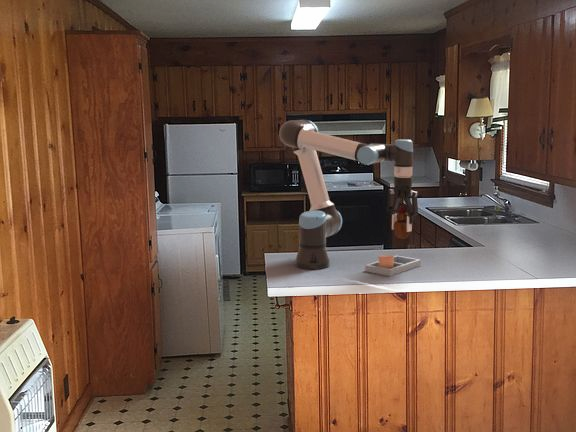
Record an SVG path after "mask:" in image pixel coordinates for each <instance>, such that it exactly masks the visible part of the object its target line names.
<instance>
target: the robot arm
mask: <svg viewBox="0 0 576 432" xmlns="http://www.w3.org/2000/svg"><path fill="white" fill-rule="evenodd" d="M278 134H279V135H278V136H279V139H280V142H282V143H283V145H285V146H286V147H290V148H292V152H293V154H295V155H296V156H297V158H298V161H299V165H300V169H301V171H302V172H301V173H302V176H303V180H304V184H305V187H306V190H307V195H308V198H309V202H310V205H311V207H310V209H309V211H308V210H307V211H305V212H302V213H301V214H300V215H299V218H298V219H299V221H298V227H299V228H298V230H299V231H298V233H299V234H298V237H299V238H298V240H299V241H298V242H299V243H298V247H299V248H298V251H297V255H296V258H295V262H294V264H295V267H296V268H300V269H305V270H306V269H307V270H319V269H320V270H321V269H325V268H328V267H330V263H331V261H330V258H329V255H328V250H327V238H328V237H331V236H333V235H336V234H337V233H338V232H339V231H340V230H341V228H342V226H343V218H342V217H343V216H342V215H341V213H340V212H339V211H338V210H337V209H336V206H335V203H334V202H332V201H331V200H330V196H329V193H328V190H327V186H326V182H325V178H324V175H323V171H322V167H321V163H320V160H319V156H318V153H317V151H318V152H322V153H325V154H329V155H333V156H337V157H341V158H346V159H349V160H353V161H357V162H359V163H361V164H363V165H365V166H367V165H368V166H369V165H372V164H376V163H377V164H378V163H384V162H386V163H387V162H388V163H394V165H393V166H394V168H393V174H394V177H393V185H394V187H393V188H390V189H388V190H387V205H386V213H389V214H390V222H391V230H393V231H394V224H395V222H396V221H398V220H397V209H398V207H399V204H400V201H401V199H402V200H403V201H404V203H405V206H406V207H407V213H408V216H407V232H412V228H413V224H414V217H415V216H418V215H419V209H418V208H419V207H418V206H419V205H418V204H419V203H418V196H419V192H418V191H414V190H413V189H412V187H413V177H412V176H413V161H414V159H413V158H414V144H413V143H414V142H413V141H412V139H396V140H395V141H394V143H391V144H390V143H389V144H388V143H369V144H367V143H362V142H359V141H356V140H354V141H353V140H350V139H346V138H342V137H339V136H334V135H330V134H326V133H322V132H319V129H318V126H317V125H316V124H315V123H314V122H312V121H311V120H308V119H297V120H296V119H295V120H293V119H292V120H288V121H285V122H284V123H283V124H282V125H281V126H280V128H279V133H278Z"/></svg>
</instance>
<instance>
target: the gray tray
mask: <svg viewBox="0 0 576 432" xmlns="http://www.w3.org/2000/svg"><path fill="white" fill-rule="evenodd" d="M393 256H394V268H391V269H387V268H382V267H378V262H379V260H377V261H374V262H371V263H367V264H364V266H365V268H364V269H365V272H368V273H373V274H378V275H383V276H388V277H391V276H396V275H398V274H400V273H404V272H406V271H409V270H412V269H415V268H418V267H420V266H422V260H421V259H420V258H419V259H418V258H413V257H408V256H402V255H393Z"/></svg>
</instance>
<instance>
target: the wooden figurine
mask: <svg viewBox="0 0 576 432" xmlns="http://www.w3.org/2000/svg"><path fill="white" fill-rule="evenodd" d="M396 214H397V221H396V222H395V224H394V230H393V231H394V236H395V237H396V238H398V239H401V240H404V239H407V238H409V235H410V232H411V231H410V232H407V216H409V214H408V211H407V207H406V205H405V204H404V203H403V204H402V206H401V207H400V208H399V209H398V212H396Z"/></svg>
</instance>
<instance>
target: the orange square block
mask: <svg viewBox="0 0 576 432" xmlns="http://www.w3.org/2000/svg"><path fill="white" fill-rule="evenodd" d="M394 256H395V255H392V254H381V255H378V261H379V262H378V267H382V268H387V269H391V268H394Z"/></svg>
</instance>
